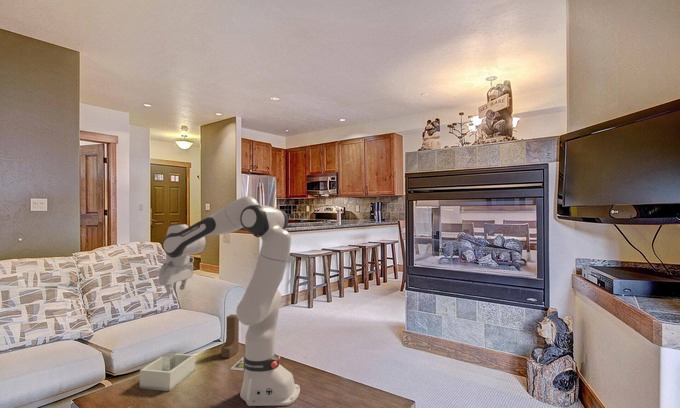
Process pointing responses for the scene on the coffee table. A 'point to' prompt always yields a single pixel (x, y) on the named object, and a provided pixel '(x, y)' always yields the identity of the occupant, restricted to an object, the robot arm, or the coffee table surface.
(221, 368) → the coffee table surface
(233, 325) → the wooden block
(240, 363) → the handheld gaming device
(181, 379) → the walled box
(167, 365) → the metal peg
